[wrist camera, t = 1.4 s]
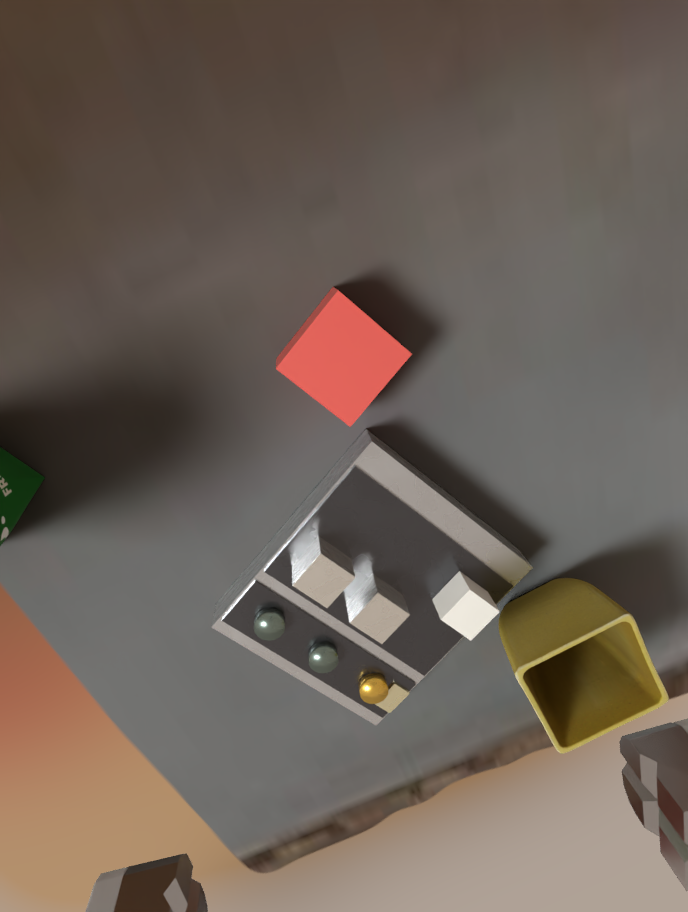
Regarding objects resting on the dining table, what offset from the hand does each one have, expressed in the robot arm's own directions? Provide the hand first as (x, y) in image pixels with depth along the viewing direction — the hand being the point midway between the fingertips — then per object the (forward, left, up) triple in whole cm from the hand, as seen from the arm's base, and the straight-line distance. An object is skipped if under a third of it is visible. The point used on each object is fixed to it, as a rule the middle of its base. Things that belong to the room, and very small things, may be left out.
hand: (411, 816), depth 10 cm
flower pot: (+2, +26, -32) cm, 41 cm away
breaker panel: (+8, +12, -31) cm, 34 cm away
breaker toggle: (+4, +17, -28) cm, 33 cm away
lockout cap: (-4, -1, -31) cm, 32 cm away
